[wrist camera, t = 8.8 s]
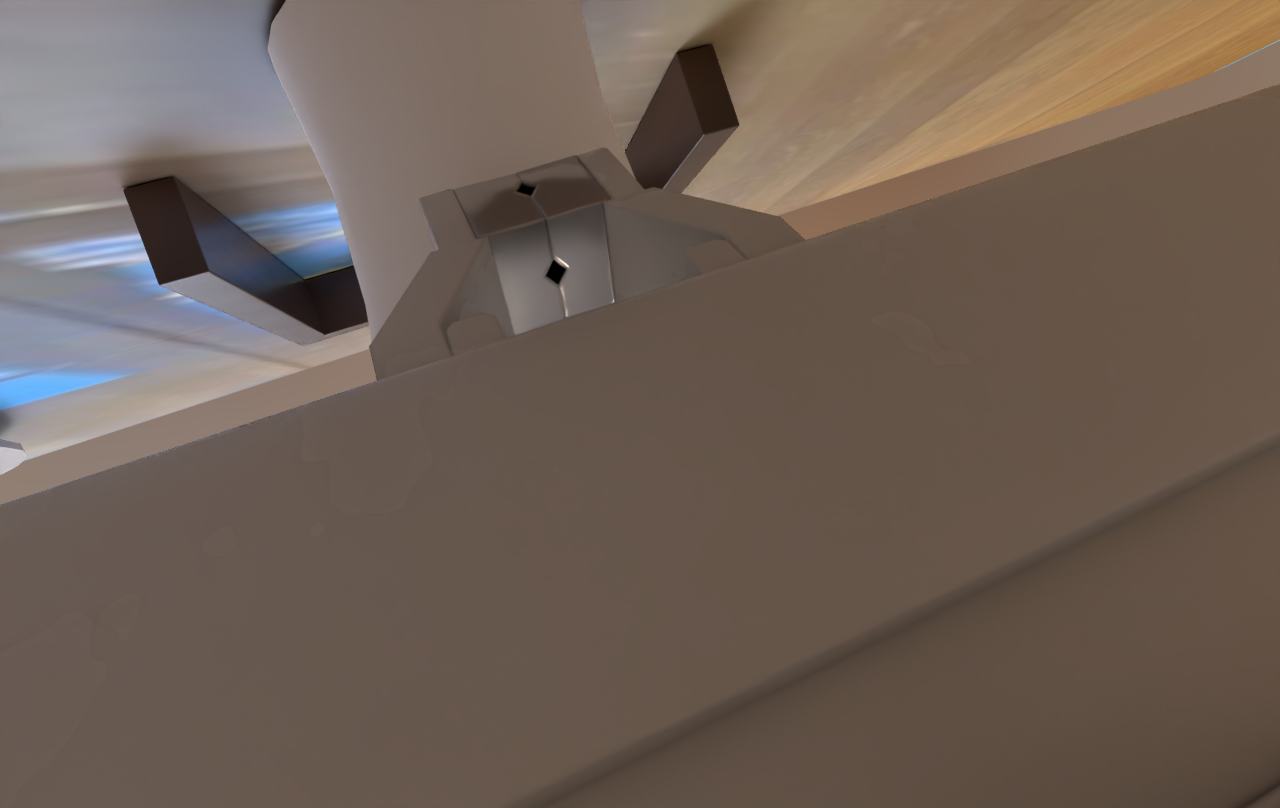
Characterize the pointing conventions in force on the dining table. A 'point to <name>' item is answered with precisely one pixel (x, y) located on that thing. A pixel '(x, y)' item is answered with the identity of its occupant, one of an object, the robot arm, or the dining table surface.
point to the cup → (432, 110)
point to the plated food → (10, 455)
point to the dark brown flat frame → (333, 303)
